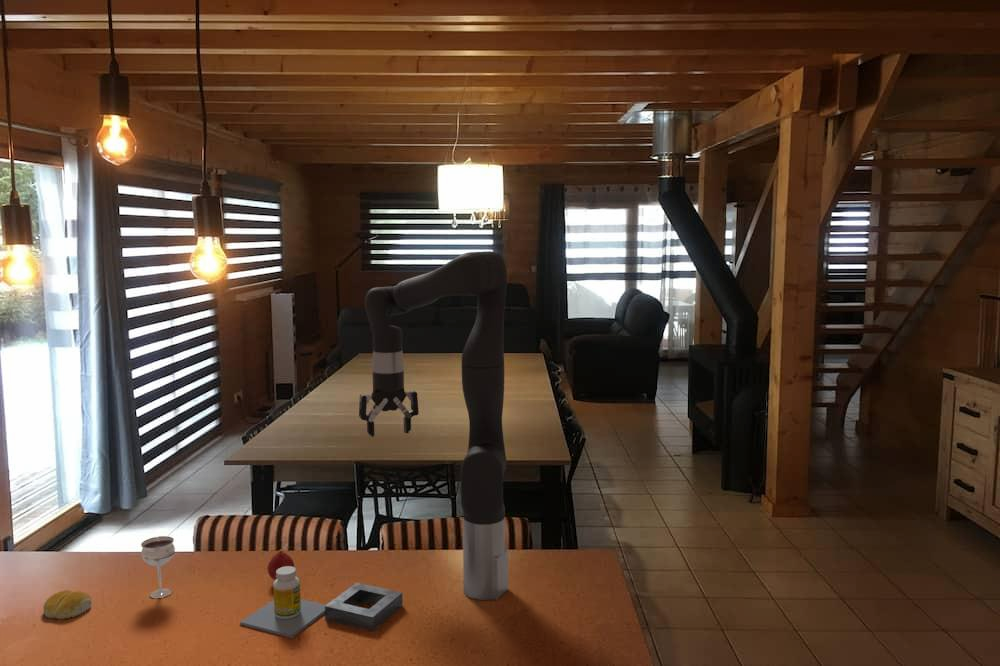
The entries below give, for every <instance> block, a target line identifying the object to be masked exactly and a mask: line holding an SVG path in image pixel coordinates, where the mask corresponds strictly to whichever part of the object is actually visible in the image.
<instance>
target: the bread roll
mask: <svg viewBox="0 0 1000 666" xmlns="http://www.w3.org/2000/svg"><path fill="white" fill-rule="evenodd" d="M91 607H92V597H91V596H90V594H88V593H86V592H83V591H81V590H80V591H79V590H78V591H71V590H69V589H68V590H67V589H66V590H61V591H58V592H56V593H53V594H52V595H50V596H49V597H47V599H46V600H45V602H44V604H43V613H44V616H45V617H46V618H49V619H58V620H64V618H68V619H71V618H70V617H72V618H76V617H78V616H80V615H82V614H84V613H85V612H87V611H88V610H89V609H90V608H91ZM86 610H87V611H86ZM83 612H84V613H83ZM81 613H82V614H81ZM79 614H80V615H79ZM77 615H78V616H77ZM75 616H76V617H75Z"/></svg>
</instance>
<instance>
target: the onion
mask: <svg viewBox="0 0 1000 666" xmlns="http://www.w3.org/2000/svg"><path fill="white" fill-rule="evenodd" d="M285 566H292V567H295V563H294V561H293V558H292V557H291V556H290V555H288V553H285V552H284V550H283V549H279V550H278V551H277V553H275V554H274V555H273V556H272V557H271V559H270V561H269V562H268V564H267V572H268V575H269V577H270V578H271V579H272V580H273V581H275V580H276V579H277V578H276V571H277V569H279V568H281V567H285Z"/></svg>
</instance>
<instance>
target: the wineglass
mask: <svg viewBox="0 0 1000 666" xmlns="http://www.w3.org/2000/svg"><path fill="white" fill-rule="evenodd" d="M174 541H175V539H174V537H171V536H166V535H162V536H161V535H160V536H155V537H150V538H148V539H145V540H143V541H142V542H141V544H140V546H141V548H142V549H141V558H142V559H143V561H144V562H145V563H147V565H149V566H155V567H154V568H157V577H158V585H159V589H156V591H155V590H154V592H153V591H151V592H152V593H151V592H150V593H151V594H150V593H149V594H150V596H151V597H152V598H162V599H164V598H163V597H165V596H167V595H169V594H171V590H172V589H171V590H169V589H170V588H162V567H163V565H165V564H168V563H169V561H171V559H172V558H173V557H174V555H175V550H176V547H175V545H174ZM171 595H172V594H171Z"/></svg>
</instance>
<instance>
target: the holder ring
mask: <svg viewBox="0 0 1000 666" xmlns="http://www.w3.org/2000/svg"><path fill="white" fill-rule="evenodd" d="M360 602H361V603H360ZM364 603H365V604H364ZM359 604H364V605H370V606H371V607H370V608H366V607H360V606H358V605H359ZM324 605H325V613H324V614H325V615H324V616H325V617H324V618H325V619H324V620H325V621H329V622H335V623H337V624H342V625H346V626H348V627H349V626H350V627H353V626H354V627H355V628H358V629H362V630H366V629H367V630H366V631H370V630H371V631H370V632H374V631H375V630H376V629H377V628H378V627H379V626H381V625H382V624H383V623H384V622H385V621H387V620H388V619H389V618H391V616H392V615H394V614H395V613H396V612H397V611H398V610H399V609H400V608H402V607H403V592H401V591H397V590H393V589H388V588H383V587H381V586H380V587H379V586H374V585H371V584H370V585H369V584H366V583H365V584H364V583H361V582H355V583H354V584H353V585H351V586H350V587H349V588H347V589H346V590H345V591H343V592H341V593H340V594H339V595H338V596H336V597H335V598H334V599H332V600H331V601H330V602H328V603H327V604H324ZM394 612H395V613H394ZM387 618H388V619H387ZM386 619H387V620H386Z"/></svg>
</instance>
